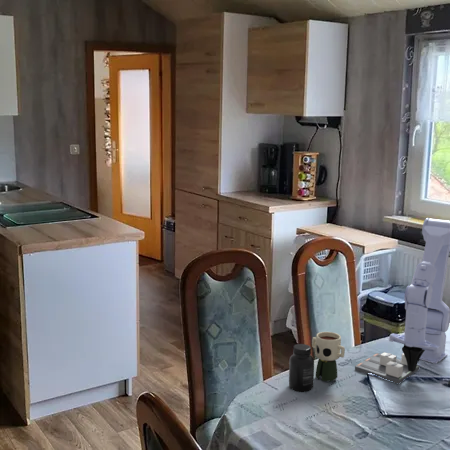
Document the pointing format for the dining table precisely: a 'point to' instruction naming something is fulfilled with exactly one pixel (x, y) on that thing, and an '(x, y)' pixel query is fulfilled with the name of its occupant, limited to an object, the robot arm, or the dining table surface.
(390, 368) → the block
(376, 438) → the dining table surface
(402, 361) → the block
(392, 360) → the block
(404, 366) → the panel
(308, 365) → the supplement bottle
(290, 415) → the dining table surface
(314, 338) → the character mug
